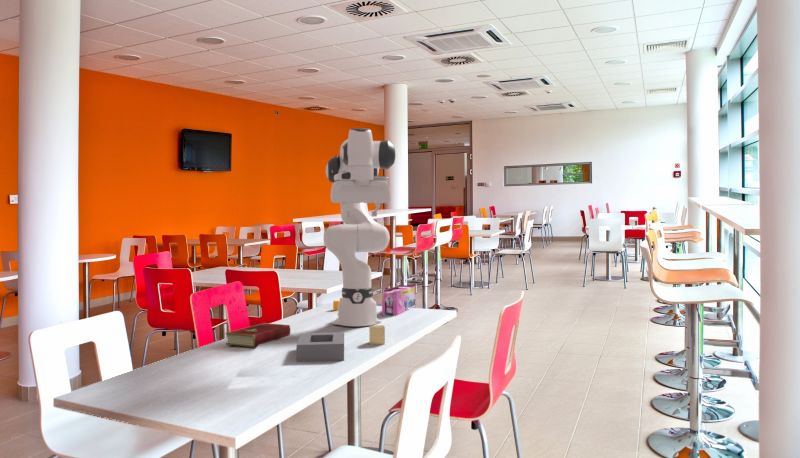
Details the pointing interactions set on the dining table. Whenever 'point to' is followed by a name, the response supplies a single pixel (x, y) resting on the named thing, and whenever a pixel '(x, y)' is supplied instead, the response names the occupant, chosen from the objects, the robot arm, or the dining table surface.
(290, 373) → the dining table surface
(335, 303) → the pipe clamp
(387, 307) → the gum box
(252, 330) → the hardcover book
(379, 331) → the tan block
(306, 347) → the well
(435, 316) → the dining table surface
